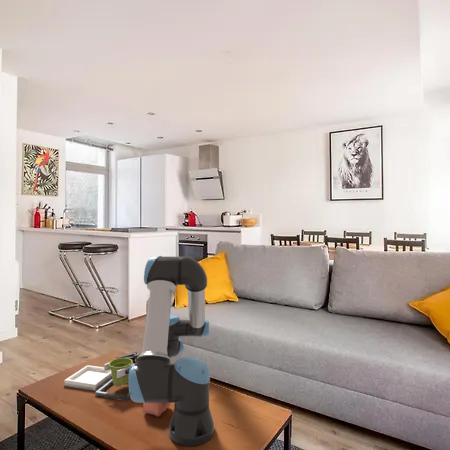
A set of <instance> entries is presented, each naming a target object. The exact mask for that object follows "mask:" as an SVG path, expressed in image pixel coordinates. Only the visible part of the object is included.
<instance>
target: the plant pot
mask: <svg viewBox="0 0 450 450" xmlns="http://www.w3.org/2000/svg"><path fill="white" fill-rule="evenodd" d="M109 362H110V363H109ZM109 362H108V363H109V366H110V369H111V373H112V378H111V379H112V380H113V384H112V385H114V386H116V387H122V386H125V385H127V384H129V383H128V380H129V374H127V375H125V376H122V377H120V378H117V371H118V370H120V369H123V368H126V367H128V366H131V365H132V364H133V363H132V362H133V361H132V360H131V359H129V358H118V359H116V358H115V359H112V360H110V361H109Z"/></svg>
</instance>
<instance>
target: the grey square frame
mask: <svg viewBox="0 0 450 450" xmlns="http://www.w3.org/2000/svg"><path fill="white" fill-rule="evenodd" d="M127 384H129V380H128V383H127ZM112 385H114V384H113V380H112V378H111V379H109V380H108V381H107V382H106V383H104V384H103V385H102V386H101V387H99V388H98V389H97V390H96V391H94V392H95V397H99V398H106V399H107V398H108V399H113V400H120V401H124V402H125V401H128V400H129V399H131V397H130V393H129V392H128V393H126V394H119V393H113V392H105V391H106V390H107V389H108V388H109V387H111V386H112Z"/></svg>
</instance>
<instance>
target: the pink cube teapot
mask: <svg viewBox="0 0 450 450" xmlns="http://www.w3.org/2000/svg"><path fill="white" fill-rule="evenodd" d="M142 404H143V408H142V410H143V411H142V412H143V413H146V414H148V415H152V416H155V417H160V416H162V414H163V413H164V412H166V411H167V409H168V408H170V406H171V403H142Z"/></svg>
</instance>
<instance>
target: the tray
mask: <svg viewBox="0 0 450 450" xmlns="http://www.w3.org/2000/svg"><path fill="white" fill-rule="evenodd" d="M111 379H112V373H111V369H110V370H107V371H104V366H97V365H89V364H87V365H85V366H84V367H82V368H81V369H80V370H77V371H76V372H75V373H72V375H70V376H68V377H67V378H65V379H64V386H65V387H68V388H69V387H70V388H75V389H81V390H82V389H83V390H90V391H94V392H96V391H97V390H99V389H100V388H101V387H102V386H104V385H105V384H106V383H107V382H109V381H110V380H111Z"/></svg>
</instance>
